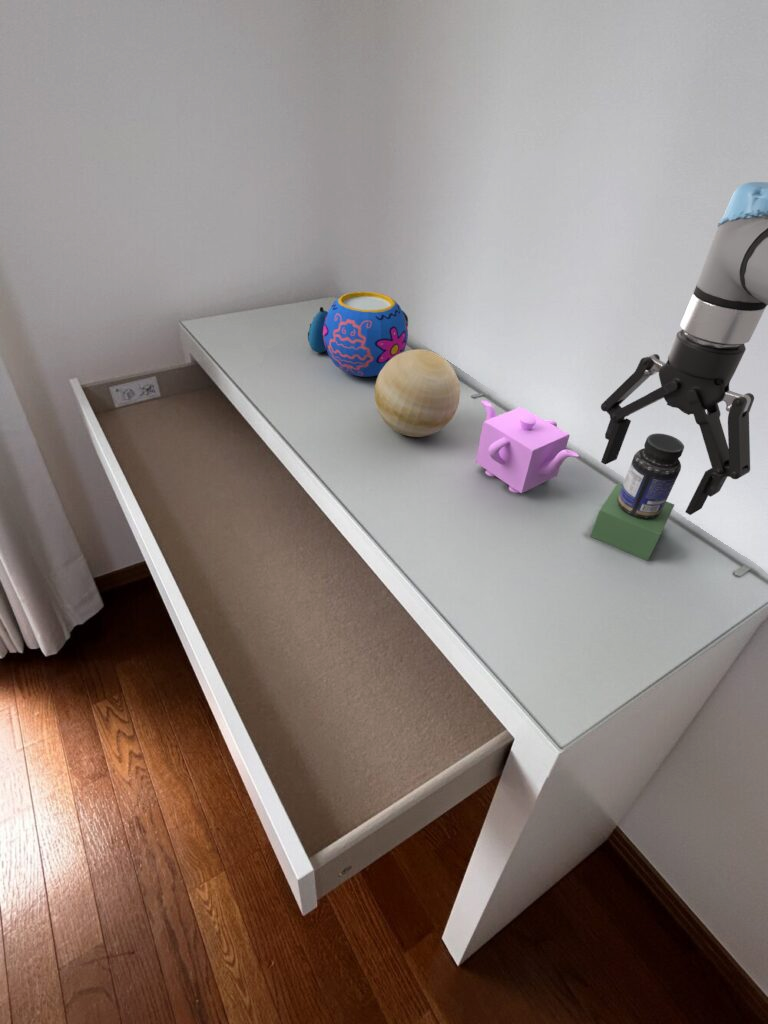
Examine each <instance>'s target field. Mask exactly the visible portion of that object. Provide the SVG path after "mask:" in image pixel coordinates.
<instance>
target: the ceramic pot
mask: <svg viewBox="0 0 768 1024" xmlns="http://www.w3.org/2000/svg"><path fill="white" fill-rule="evenodd" d="M327 312H328V313H327V316H326V318H325V322H324V328H323V338H324V343H325V347H326V349H327V350H326V352H327V354H328V356H329V359H330V360H331V361H332V363H333V364H334V365H335V366H336V367H337V368H338V369H339V370H341V371H343V372H344V373H347V374H350V375H352V376H357V377H364V378H365V377H366V378H369V377H376V376H377V377H378V375H379V373H380V371H381V370H382V368H383V367H384V366H385V364H386V363H387V362H388V361H389V360H391V359H392V358H393V357H394V356H396V355H398V354H400V353H402V352H405V351H406V347H407V343H408V338H409V330H408V327H409V317H408V315H407V313H406V312H405V311H404V310H402V308H401V306H400V304H399V303H398V302H397V301H396V300H395V299H393V298H392V297H390V296H388V295H385V294H382V293H378V292H372V291H353V292H348V293H345V294H343V295H341V296H339V297H338V298H337V299H336V300H334V301H333V303H332V304H331V305H330V308H329V309H328V311H327Z"/></svg>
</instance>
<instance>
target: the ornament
mask: <svg viewBox="0 0 768 1024" xmlns="http://www.w3.org/2000/svg"><path fill="white" fill-rule="evenodd" d="M327 313H328V311H327V310H325V309H324V307H323V306H320V308H319V311H318V312H317V313H316V314H315V316H314V317H313V318H312V321H311V323H309V329H308V332H307V341H308V345H309V347H310V349H311V350H312V351H313V352H315V353H317V354H318V353H324V352H327V349H326V347H325V343H324V338H323V328H324V322H325V318H326V316H327Z"/></svg>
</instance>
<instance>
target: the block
mask: <svg viewBox="0 0 768 1024" xmlns="http://www.w3.org/2000/svg"><path fill="white" fill-rule="evenodd" d="M622 486H623V483H619V482H616V484H615V486H614V487H613V489H612V490H611V491H610V494H609V495H608V497H607V498H606V500H605V501H604V503H603V504H602V506H601V507H600V508H599V511H598V514H597V516H596V519H595V522H594V524H593V526H592V529H591V532H590V534H589V537H591V538H594V539H596V540H598V541H601V542H602V543H604V544H607V545H610V546H612V547H614V548H616V549H619V550H621V551H623V552H626V553H628V554H630V555H633V556H636V557H638V558H640V559H643V560H645V561H649V560H650V557H651V555H652V553H653V551H654V549H655V547H656V545H657V543H658V540H659V539H660V537H661V535H662V532H663V530H664V529H665V526H666V524H667V522H668V520H669V518H670V516H671V514H672V511H673V509H674V507H675V504H674V503H672V502H670V501H667V500H666V503H665V505H664V507H663V509H662V511H661V513H660V514H659V515H658V516H657V517H655V518H652V519H643V518H638V517H635V516H632V515H629V514H627V513H626V512H624V511H623V510H622V509H621V508H620V507H619V505H618V502H617V498H618V496H619V493H620V491H621V488H622Z"/></svg>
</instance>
